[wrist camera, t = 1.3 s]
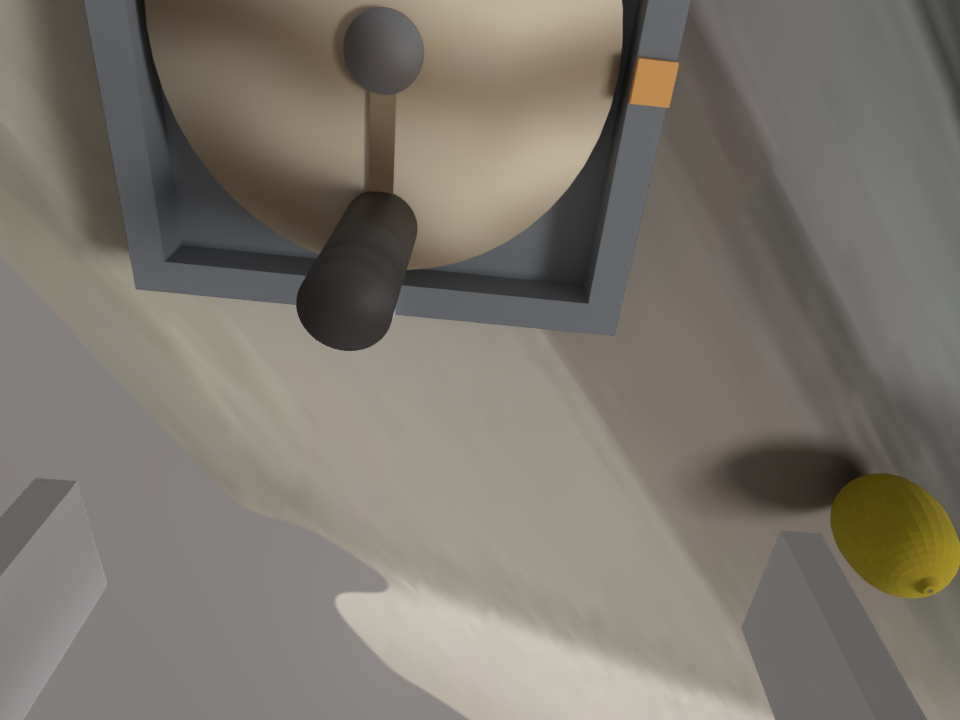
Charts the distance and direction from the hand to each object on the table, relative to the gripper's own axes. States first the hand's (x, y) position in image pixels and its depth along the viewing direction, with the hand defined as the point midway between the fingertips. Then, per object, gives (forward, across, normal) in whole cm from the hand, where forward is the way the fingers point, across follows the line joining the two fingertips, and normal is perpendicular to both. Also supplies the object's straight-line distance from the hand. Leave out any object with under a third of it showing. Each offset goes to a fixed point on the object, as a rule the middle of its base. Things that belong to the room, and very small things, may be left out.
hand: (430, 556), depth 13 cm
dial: (+20, -4, +7) cm, 22 cm away
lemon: (+22, +24, -15) cm, 36 cm away
